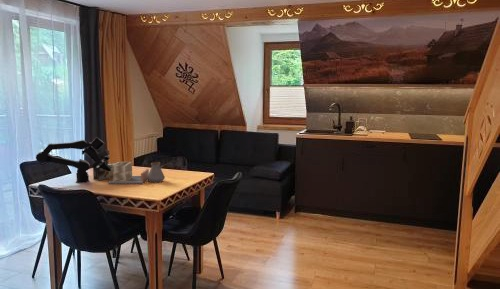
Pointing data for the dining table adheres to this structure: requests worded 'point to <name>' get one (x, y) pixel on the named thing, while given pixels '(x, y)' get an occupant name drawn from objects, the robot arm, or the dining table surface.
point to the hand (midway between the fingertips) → (110, 170)
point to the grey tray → (134, 179)
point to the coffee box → (102, 173)
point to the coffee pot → (156, 173)
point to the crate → (122, 171)
